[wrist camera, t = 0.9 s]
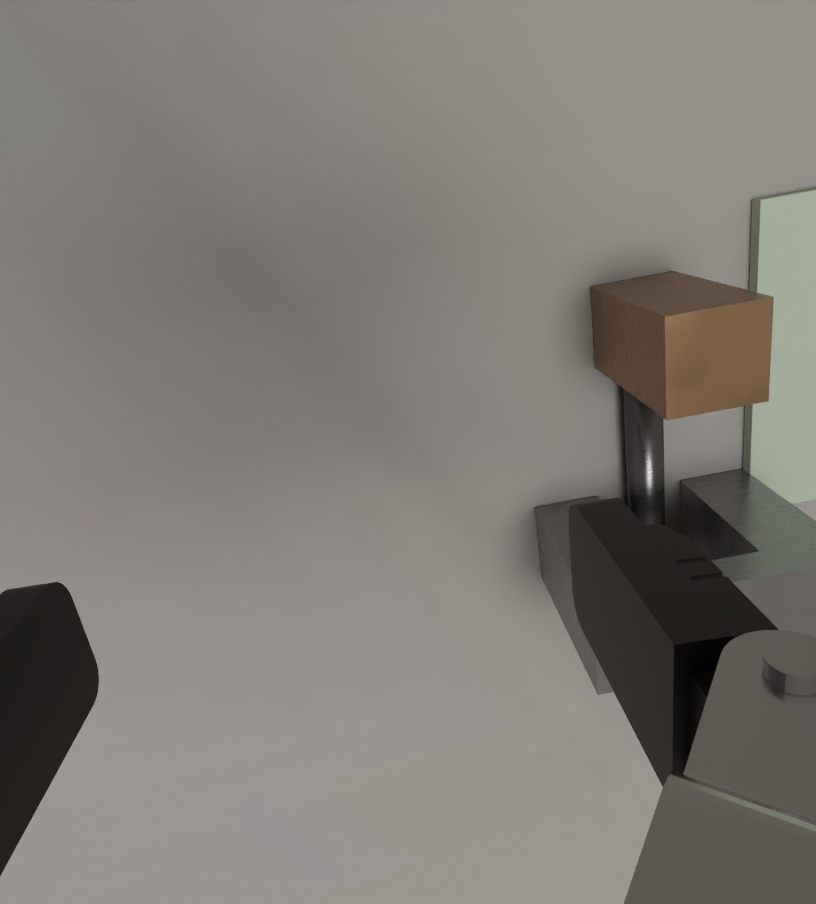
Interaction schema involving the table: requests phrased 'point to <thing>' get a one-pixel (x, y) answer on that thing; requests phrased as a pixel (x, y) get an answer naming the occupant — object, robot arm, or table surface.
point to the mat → (786, 346)
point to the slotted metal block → (710, 553)
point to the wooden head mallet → (677, 362)
